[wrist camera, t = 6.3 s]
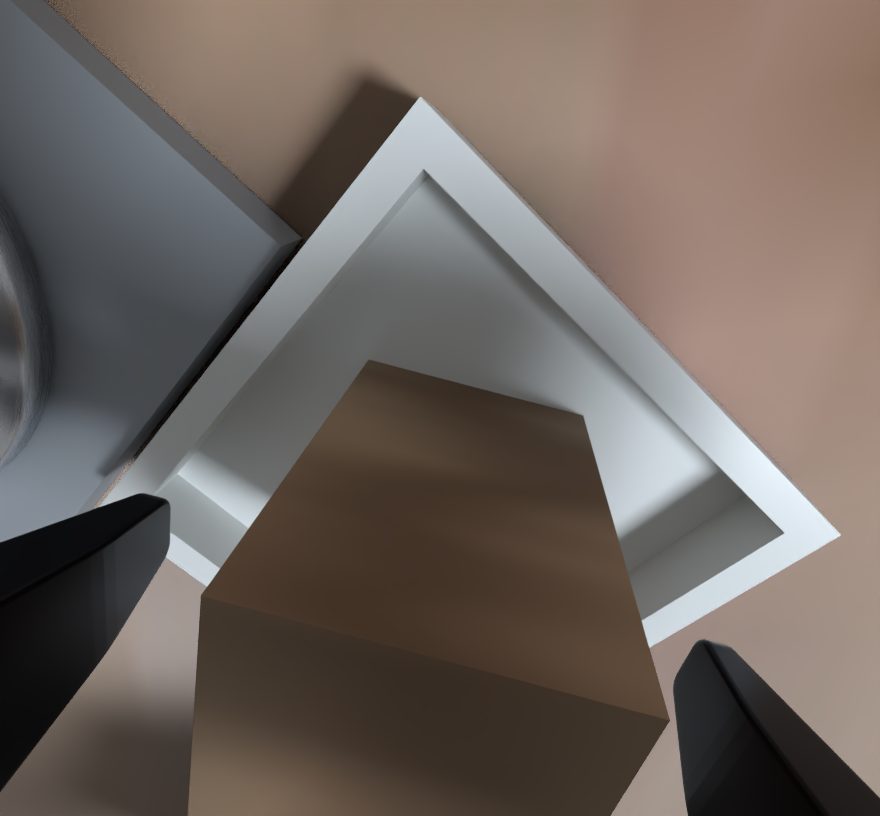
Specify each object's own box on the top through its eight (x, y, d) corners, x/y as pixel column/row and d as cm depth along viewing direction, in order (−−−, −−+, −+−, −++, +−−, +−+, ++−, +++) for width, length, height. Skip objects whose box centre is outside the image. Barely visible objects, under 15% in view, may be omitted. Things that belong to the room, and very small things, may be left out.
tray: (789, 477, 11) (841, 535, 9) (457, 693, 14) (450, 764, 12) (436, 108, 9) (419, 96, 7) (153, 461, 12) (98, 507, 10)
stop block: (583, 415, 10) (669, 720, 5) (519, 581, 12) (527, 948, 6) (368, 359, 10) (200, 595, 5) (335, 532, 12) (185, 855, 6)
